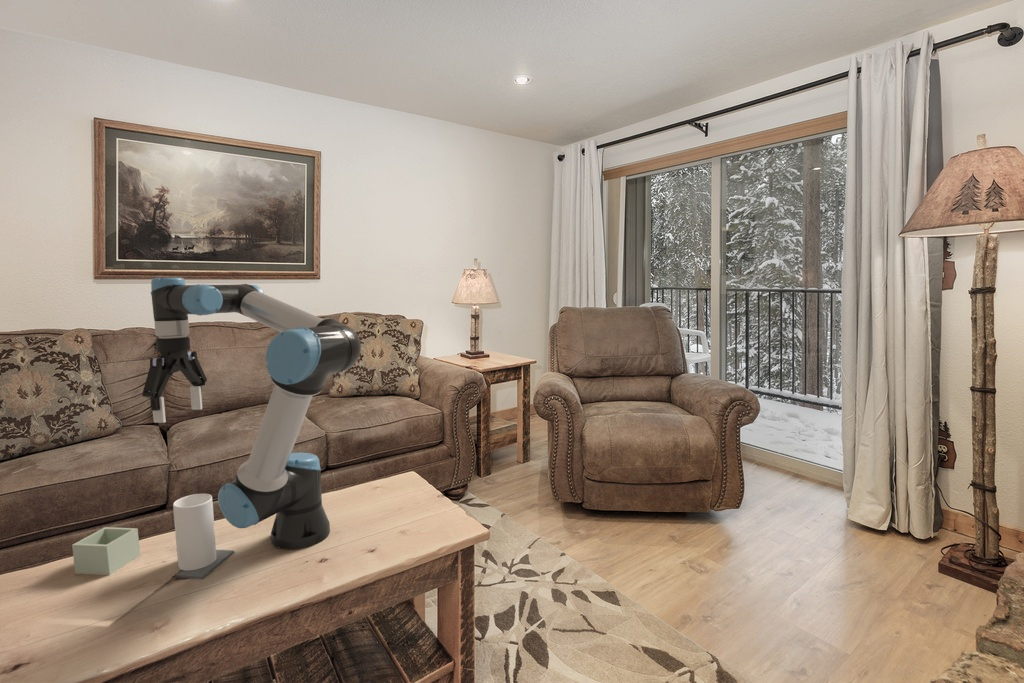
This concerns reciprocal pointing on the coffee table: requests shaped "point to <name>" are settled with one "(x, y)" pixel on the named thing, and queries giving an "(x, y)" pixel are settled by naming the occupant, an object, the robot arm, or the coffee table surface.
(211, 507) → the cup
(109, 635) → the coffee table surface
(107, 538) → the planter
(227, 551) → the coaster
